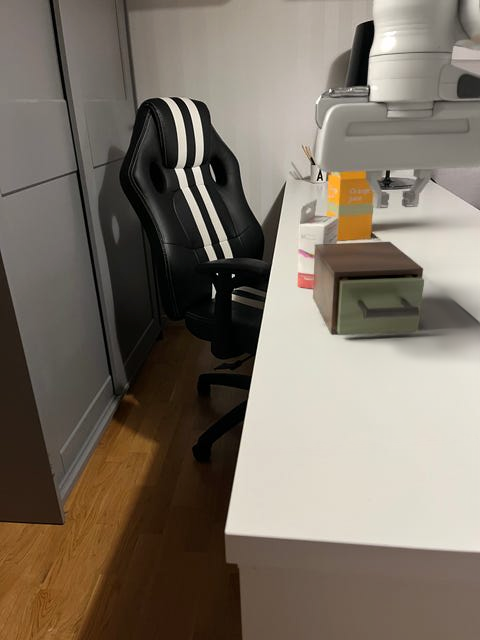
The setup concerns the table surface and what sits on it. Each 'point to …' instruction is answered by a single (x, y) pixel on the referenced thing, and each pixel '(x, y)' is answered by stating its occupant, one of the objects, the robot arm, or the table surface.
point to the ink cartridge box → (313, 240)
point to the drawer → (379, 304)
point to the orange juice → (350, 204)
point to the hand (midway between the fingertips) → (394, 207)
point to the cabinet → (353, 270)
